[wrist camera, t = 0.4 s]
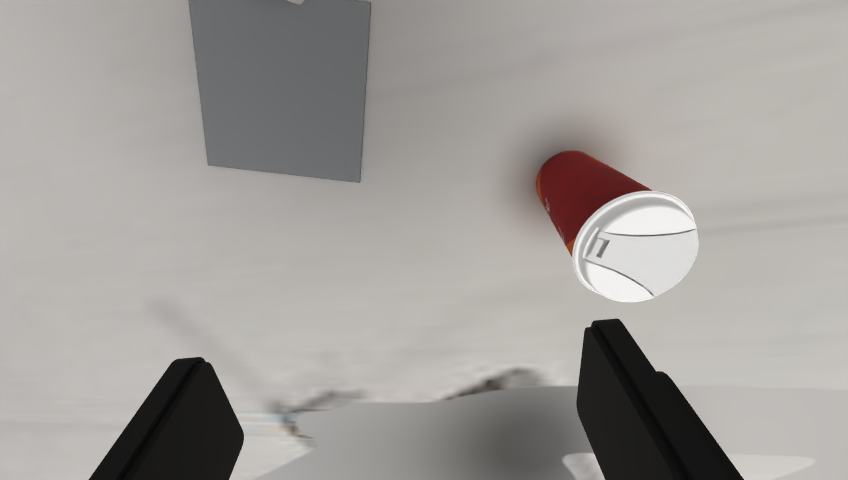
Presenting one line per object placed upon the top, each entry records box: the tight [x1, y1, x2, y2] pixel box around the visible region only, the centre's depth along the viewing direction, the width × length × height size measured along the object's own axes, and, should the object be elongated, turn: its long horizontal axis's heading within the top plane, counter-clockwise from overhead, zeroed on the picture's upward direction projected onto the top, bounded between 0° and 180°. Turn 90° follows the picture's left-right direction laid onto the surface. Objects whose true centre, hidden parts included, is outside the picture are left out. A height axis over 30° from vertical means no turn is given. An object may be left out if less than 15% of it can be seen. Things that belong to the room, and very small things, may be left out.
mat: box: [189, 0, 371, 183], centre depth 35 cm, size 15×14×1 cm
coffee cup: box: [536, 151, 699, 302], centre depth 33 cm, size 8×8×15 cm
